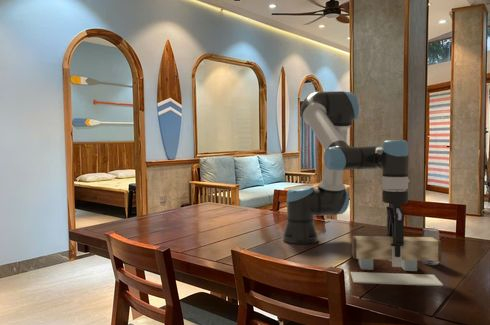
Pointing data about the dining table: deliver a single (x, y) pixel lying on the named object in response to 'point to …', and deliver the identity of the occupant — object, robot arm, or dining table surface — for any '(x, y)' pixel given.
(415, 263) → the post right
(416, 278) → the mat
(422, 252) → the rail
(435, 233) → the energy drink
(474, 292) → the dining table surface
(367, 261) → the post left
